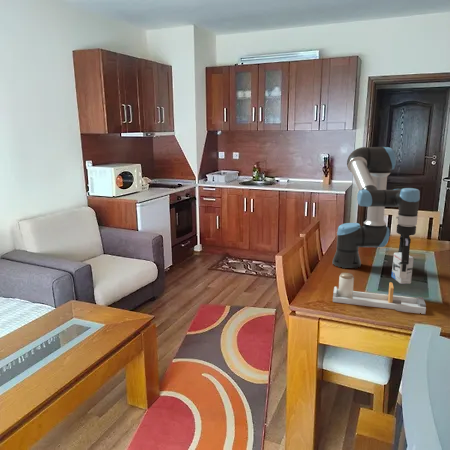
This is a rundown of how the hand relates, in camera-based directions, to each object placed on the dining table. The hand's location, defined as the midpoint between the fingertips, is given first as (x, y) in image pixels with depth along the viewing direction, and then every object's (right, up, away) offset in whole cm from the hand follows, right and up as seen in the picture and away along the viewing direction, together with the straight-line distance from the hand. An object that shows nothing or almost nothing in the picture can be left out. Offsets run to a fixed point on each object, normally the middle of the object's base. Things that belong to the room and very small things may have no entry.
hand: (401, 274), depth 174 cm
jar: (-25, -11, -2) cm, 27 cm away
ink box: (0, -3, +1) cm, 3 cm away
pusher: (-6, -12, -8) cm, 15 cm away
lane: (-13, -12, -5) cm, 18 cm away
